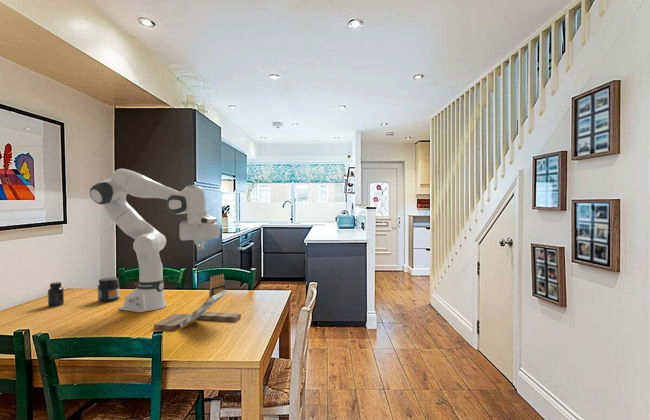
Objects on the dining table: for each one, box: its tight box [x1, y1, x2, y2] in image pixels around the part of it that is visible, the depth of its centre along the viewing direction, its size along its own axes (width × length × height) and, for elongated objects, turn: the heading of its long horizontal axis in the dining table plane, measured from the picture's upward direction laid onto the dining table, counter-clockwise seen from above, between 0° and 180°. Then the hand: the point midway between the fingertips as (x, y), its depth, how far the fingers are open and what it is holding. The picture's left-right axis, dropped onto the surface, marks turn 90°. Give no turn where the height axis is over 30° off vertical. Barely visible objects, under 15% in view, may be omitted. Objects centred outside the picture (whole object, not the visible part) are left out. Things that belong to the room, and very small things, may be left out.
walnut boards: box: [153, 311, 242, 331], centre depth 165 cm, size 31×21×2 cm
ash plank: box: [179, 289, 228, 328], centre depth 162 cm, size 20×12×2 cm
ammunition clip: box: [208, 273, 226, 298], centre depth 217 cm, size 11×2×12 cm, turn 149°
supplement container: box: [97, 276, 120, 303], centre depth 206 cm, size 10×10×12 cm
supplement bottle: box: [47, 281, 65, 307], centre depth 195 cm, size 7×7×12 cm
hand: (200, 248), depth 172 cm, fingers closed
